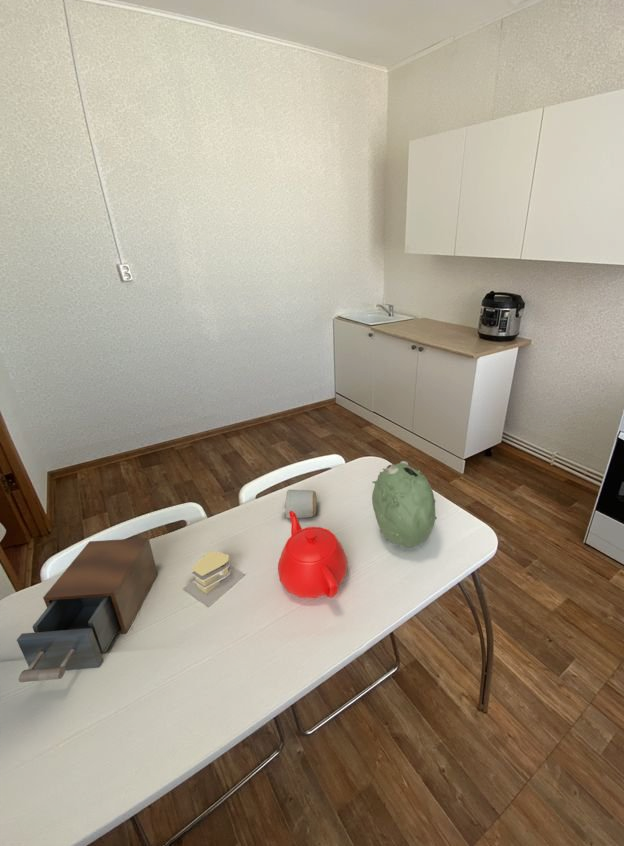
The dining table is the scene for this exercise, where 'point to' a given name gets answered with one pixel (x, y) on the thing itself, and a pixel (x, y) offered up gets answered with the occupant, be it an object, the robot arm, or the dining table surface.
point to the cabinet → (110, 576)
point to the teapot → (311, 562)
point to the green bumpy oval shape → (404, 505)
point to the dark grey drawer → (68, 637)
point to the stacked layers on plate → (212, 577)
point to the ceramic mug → (301, 503)
